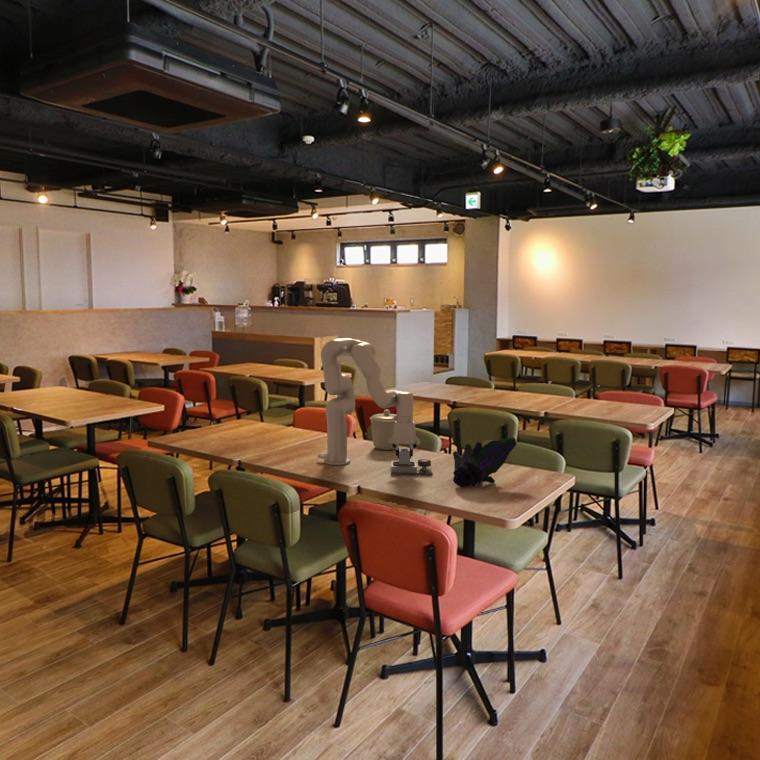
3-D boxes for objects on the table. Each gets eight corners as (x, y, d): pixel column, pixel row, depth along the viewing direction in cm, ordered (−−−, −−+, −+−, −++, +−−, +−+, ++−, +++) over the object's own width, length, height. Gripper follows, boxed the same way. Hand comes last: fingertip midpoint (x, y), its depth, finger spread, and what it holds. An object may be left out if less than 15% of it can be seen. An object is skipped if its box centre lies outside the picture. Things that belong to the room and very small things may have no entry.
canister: (363, 450, 332) (364, 410, 330) (377, 443, 349) (377, 405, 346) (395, 453, 326) (396, 413, 323) (407, 446, 342) (408, 408, 340)
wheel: (418, 466, 288) (418, 462, 288) (417, 463, 294) (417, 459, 294) (431, 466, 288) (431, 462, 288) (430, 463, 294) (430, 459, 294)
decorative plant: (453, 506, 273) (481, 473, 296) (503, 494, 256) (528, 460, 280) (431, 464, 271) (461, 434, 294) (481, 450, 254) (508, 419, 278)
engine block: (399, 464, 288) (399, 449, 288) (398, 461, 294) (398, 446, 293) (410, 464, 288) (409, 449, 287) (409, 461, 294) (409, 446, 293)
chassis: (390, 475, 286) (390, 467, 285) (390, 468, 298) (390, 460, 297) (432, 475, 286) (432, 467, 285) (430, 468, 298) (431, 461, 297)
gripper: (386, 420, 285) (385, 459, 287) (423, 420, 285) (423, 459, 287) (386, 417, 292) (385, 455, 295) (422, 417, 292) (422, 455, 294)
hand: (404, 457), depth 291 cm, fingers closed on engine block, 5 cm apart
